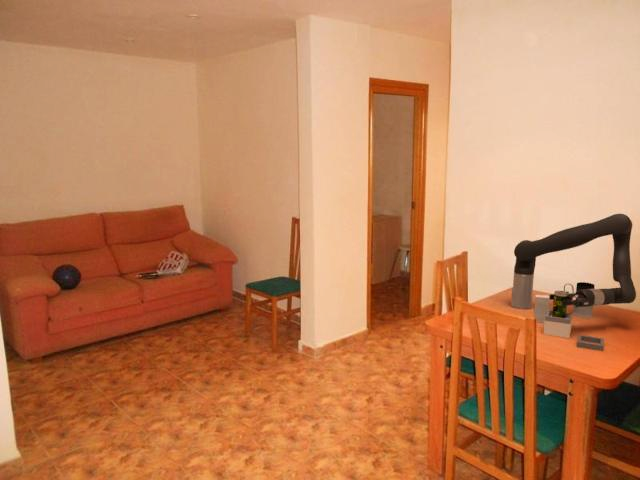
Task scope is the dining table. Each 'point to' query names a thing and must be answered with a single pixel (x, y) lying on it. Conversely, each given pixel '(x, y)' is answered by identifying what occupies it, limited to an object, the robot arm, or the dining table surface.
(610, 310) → the dining table surface
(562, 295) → the beer can
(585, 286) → the grey container
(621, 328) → the dining table surface
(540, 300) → the skincare box
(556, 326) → the riser
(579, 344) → the table dock
